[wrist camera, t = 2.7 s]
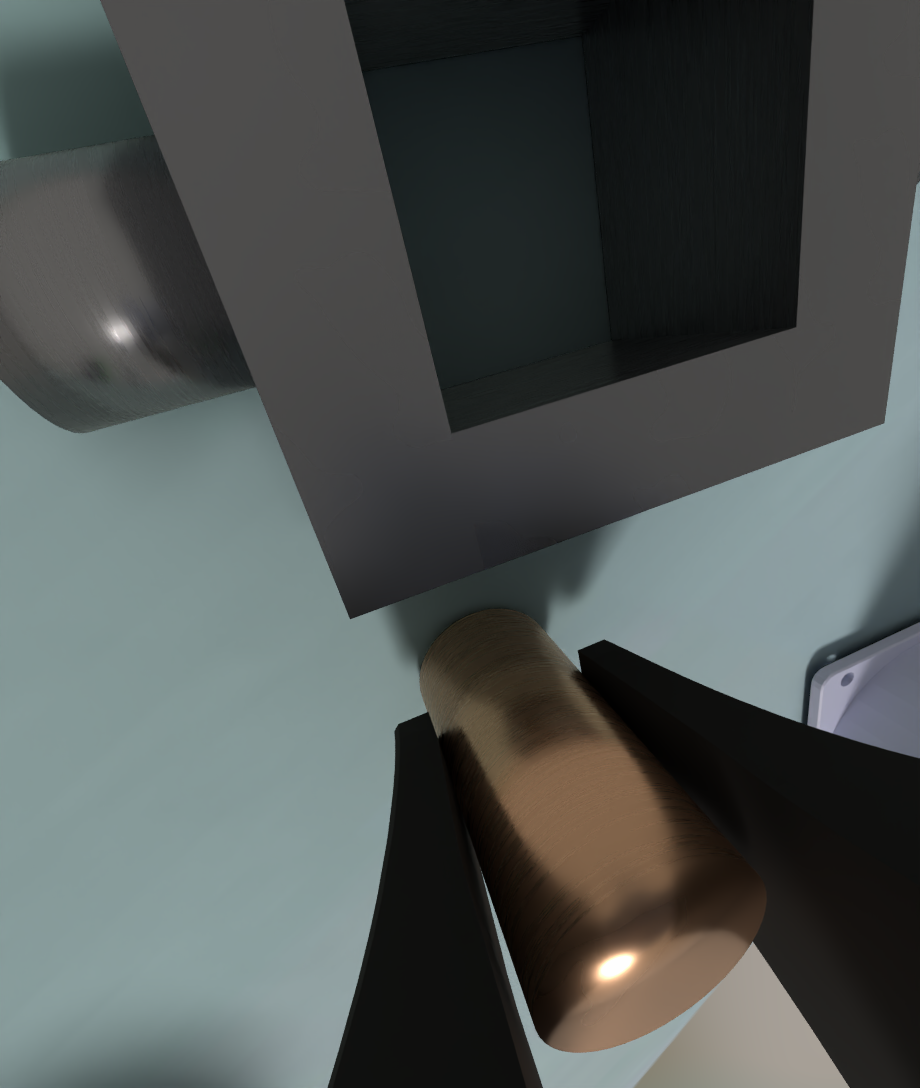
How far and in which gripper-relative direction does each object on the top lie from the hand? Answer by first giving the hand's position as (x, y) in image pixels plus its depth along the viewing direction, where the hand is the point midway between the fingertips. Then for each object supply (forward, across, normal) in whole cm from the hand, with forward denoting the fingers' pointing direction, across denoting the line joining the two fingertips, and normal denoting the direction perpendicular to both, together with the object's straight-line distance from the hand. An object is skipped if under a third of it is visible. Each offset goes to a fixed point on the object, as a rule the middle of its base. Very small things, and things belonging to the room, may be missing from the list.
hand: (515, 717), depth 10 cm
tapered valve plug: (+2, 0, 0) cm, 2 cm away
